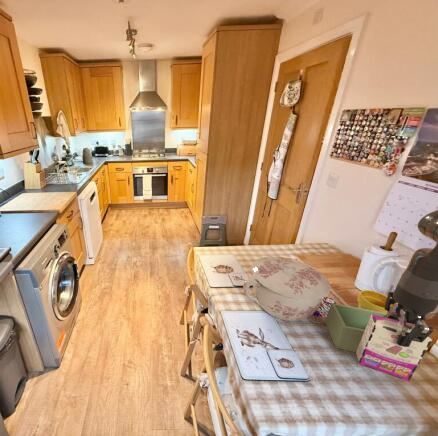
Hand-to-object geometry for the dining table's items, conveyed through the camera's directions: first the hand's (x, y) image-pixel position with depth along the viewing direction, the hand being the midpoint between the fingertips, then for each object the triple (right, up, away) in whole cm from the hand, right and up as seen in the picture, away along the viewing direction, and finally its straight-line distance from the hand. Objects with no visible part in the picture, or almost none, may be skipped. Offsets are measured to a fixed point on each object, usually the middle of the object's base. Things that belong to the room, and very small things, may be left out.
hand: (395, 335), depth 65 cm
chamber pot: (-13, -5, +34) cm, 36 cm away
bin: (+5, -11, +18) cm, 21 cm away
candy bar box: (+1, -12, +5) cm, 13 cm away
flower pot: (+18, -6, +27) cm, 33 cm away
